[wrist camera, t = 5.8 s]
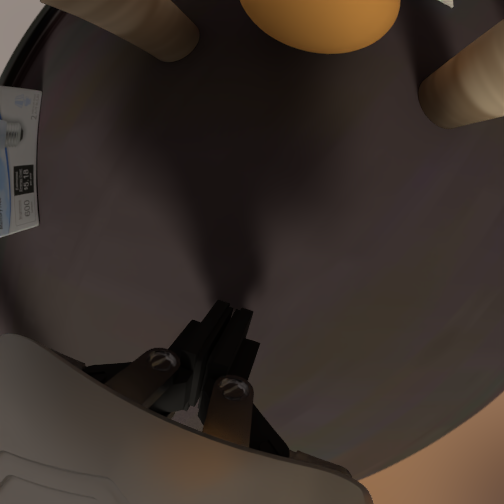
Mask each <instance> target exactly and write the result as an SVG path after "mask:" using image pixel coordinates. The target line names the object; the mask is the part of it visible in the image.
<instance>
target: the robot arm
mask: <svg viewBox="0 0 504 504" xmlns="http://www.w3.org/2000/svg"><path fill="white" fill-rule="evenodd" d="M229 306H230V303H227V302H224V301H221V300H217V302H216V303H215V304H214V306H213V307H212V308H211V310H210V311H209V313H208V314H207V315H206V317H205V318H204V319H203V321H202V322H201V323H200V322H198V321H195V320H192V321H190V323H189V324H188V325H187V326H186V328H185V329H184V330H183V331H182V333H181V334H180V335H179V336H178V338H177V339H176V340H175V341H174V342H173V344H172V345H171V346H170V347H169V349H165V348H153V349H150V350H148V351H146V352H145V353H144V354H142V355H141V356H140V357H139V358H137V359H136V360H135V361H133V362H128V363H117V364H103V365H92V366H88V367H86V366H85V363H83V362H80V361H78V360H75V359H73V358H70V357H68V356H66V355H63V354H61V353H59V352H57V351H54V350H52V349H49V348H47V347H46V346H44V345H42V344H40V343H39V342H37V341H34V340H32V339H30V338H28V337H25V336H22V335H18V334H12V333H10V334H4V335H1V336H0V504H373V500H372V497H371V495H370V493H369V491H368V490H367V489H366V488H365V487H364V486H363V485H362V484H361V483H359V482H358V481H356V480H355V479H353V478H352V476H351V474H350V472H349V471H348V470H347V469H346V468H344V467H342V466H339V465H336V464H333V463H330V462H327V461H324V460H322V459H319V458H316V457H314V456H311V455H308V454H306V453H303V452H301V451H297V452H294V451H292V450H289V448H288V446H287V445H286V443H285V442H284V441H283V440H282V439H281V437H280V436H279V435H278V434H277V433H276V431H275V430H274V429H273V428H272V427H271V425H270V424H269V423H268V422H267V420H266V419H265V418H264V417H263V415H262V414H261V413H260V412H259V410H258V409H257V408H256V406H255V405H254V404H253V397H254V391H253V387H252V386H251V384H250V383H249V382H248V378H249V375H250V372H251V369H252V366H253V363H254V360H255V357H256V354H257V351H258V348H259V345H260V343H258V342H255V341H252V340H249V339H246V335H247V332H248V328H249V325H250V322H251V318H252V315H253V311H251V310H248V309H244V308H241V310H238V309H236V310H235V312H234V314H233V316H232V318H231V315H232V311H233V308H232V307H229ZM199 397H200V399H199ZM198 399H199V404H198V408H199V412H198V417H199V419H200V420H201V422H202V424H203V425H204V427H203V431H202V432H201V431H198V430H195V429H193V428H190V427H188V426H186V425H183V424H181V423H178V422H176V421H174V420H171V418H172V417H173V416H174V414H175V411H179V410H185V411H187V410H188V408H189V407H190V405H191V406H195V405H196V403H197V401H198Z"/></svg>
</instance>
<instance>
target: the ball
mask: <svg viewBox="0 0 504 504" xmlns="http://www.w3.org/2000/svg"><path fill="white" fill-rule="evenodd" d="M240 2H241V4H242V7H243V8H244V10H245V12H246V13H247V15H248V16H249V17H250V18H251V20H252V21H253V22H254V23H255V24H256V25H257V26H258V27H259V28H260V29H261V30H263V31H264V32H265V33H266V34H268V35H269V36H271V37H273V38H274V39H276V40H278V41H280V42H282V43H284V44H286V45H288V46H291V47H294V48H296V49H300V50H304V51H308V52H314V53H323V54H339V53H347V52H351V51H355V50H359V49H361V48H364V47H367V46H369V45H371V44H372V43H374V42H376V41H377V40H379V39H380V38H381V37H382V36H383V35H384V34H386V33H387V32H388V31H389V29H390V28H391V26H392V25H393V24H394V22H395V20H396V18H397V16H398V12H399V9H400V0H240Z"/></svg>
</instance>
